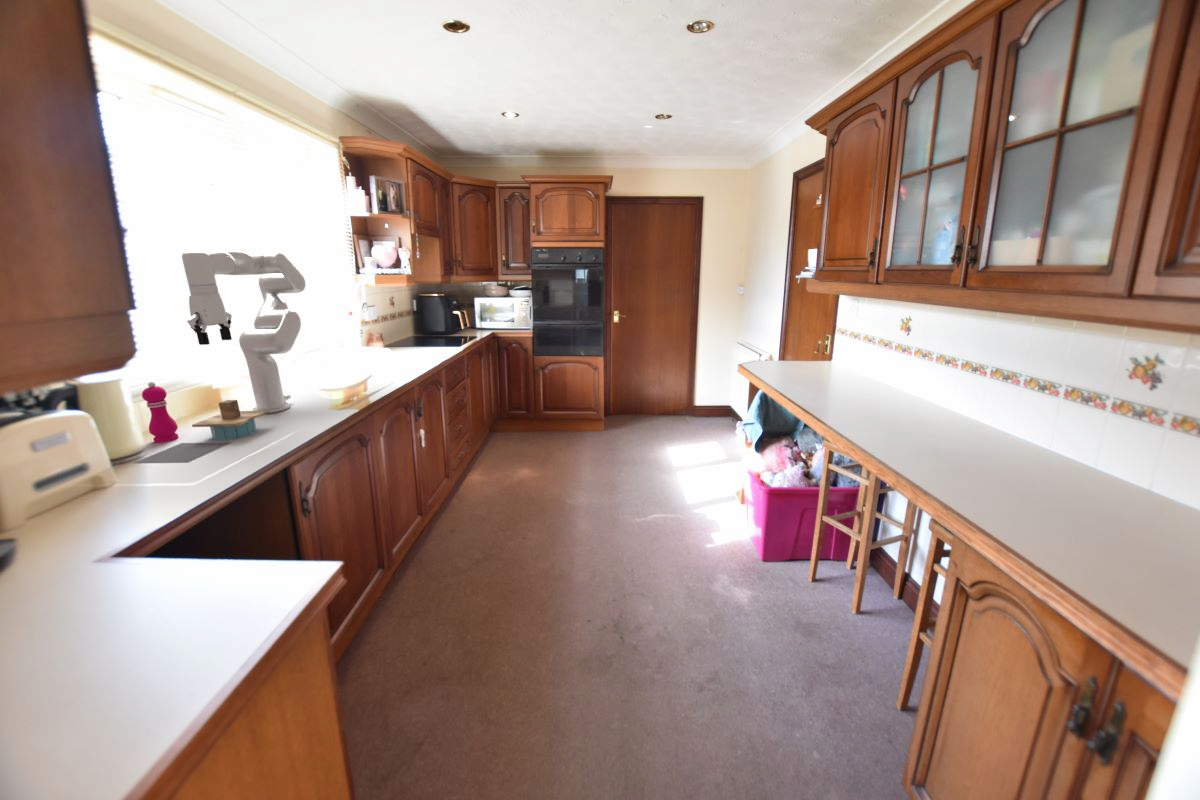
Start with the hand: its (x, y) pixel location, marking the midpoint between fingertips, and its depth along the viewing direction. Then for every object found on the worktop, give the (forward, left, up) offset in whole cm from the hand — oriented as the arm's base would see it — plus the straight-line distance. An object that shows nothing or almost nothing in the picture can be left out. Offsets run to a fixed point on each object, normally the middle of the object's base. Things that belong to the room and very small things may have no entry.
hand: (216, 342), depth 175 cm
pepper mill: (+14, -13, -31) cm, 36 cm away
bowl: (+9, +7, -30) cm, 32 cm away
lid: (+9, +7, -25) cm, 27 cm away
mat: (+26, +4, -30) cm, 40 cm away
